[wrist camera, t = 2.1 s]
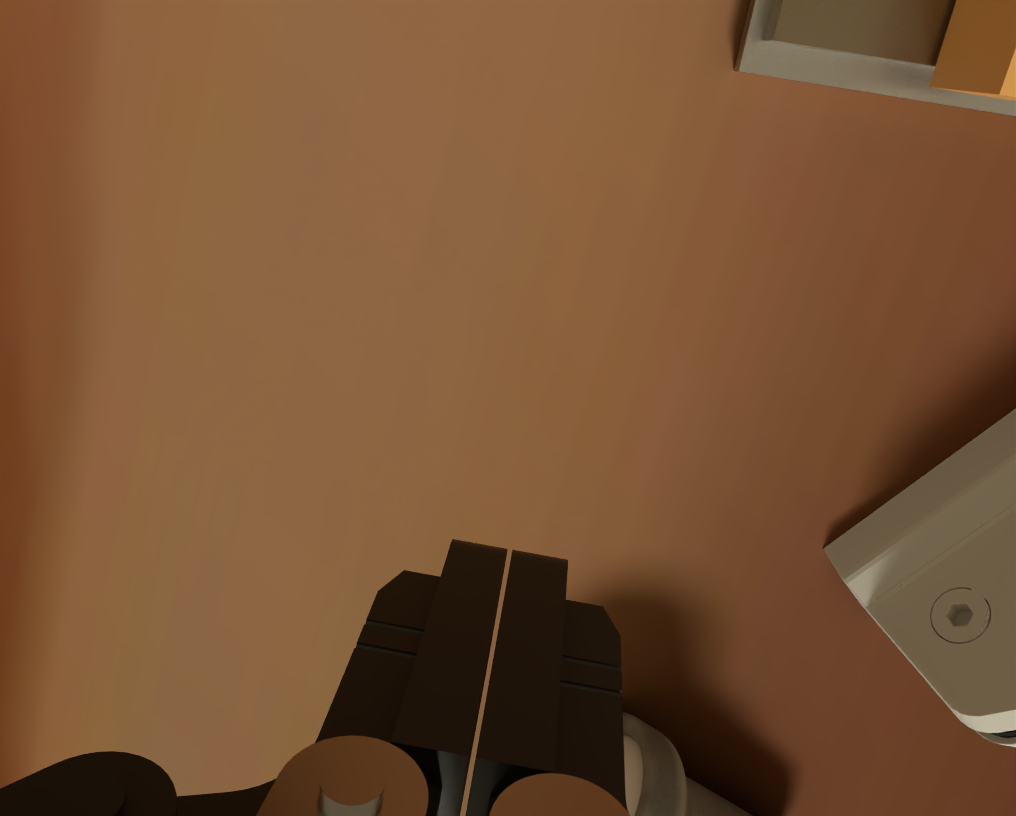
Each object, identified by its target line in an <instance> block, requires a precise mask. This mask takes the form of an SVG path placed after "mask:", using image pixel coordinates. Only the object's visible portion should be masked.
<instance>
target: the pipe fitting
mask: <svg viewBox="0 0 1016 816" xmlns="http://www.w3.org/2000/svg"><path fill="white" fill-rule="evenodd" d="M623 734H624V764H625V793H626V803H627V809H628V812H629V815H630V816H753V815H751V814H750V813H748V812H746V811H744V810H743V809H741V808H739V807H737V806H736V805H734V804H732V803H731V802H729V801H727V800H726V799H724V798H722V797H720V796H719V795H717V794H715V793H714V792H712V791H710V790H708V789H707V788H705V787H703V786H702V785H700V784H698V783H696V782H695V781H693V780H691V779H690V778H688V777H686V776H685V772H684V768H683V764H682V761H681V759H680V756H679V754H678V752H677V750H676V749H675V747H674V746H673V744H672V743H671V742H670V741H669V739H668V738H667V737H665V736H664V735H663V734H662V733H660V732H659V731H657V730H656V729H654V728H653V727H651V726H650V725H648V724H647V723H645V722H643V721H642V720H640V719H639V718H637V717H635V716H633V715H631V714H629V713H626V712H623Z"/></svg>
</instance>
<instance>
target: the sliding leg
mask: <svg viewBox="0 0 1016 816" xmlns="http://www.w3.org/2000/svg"><path fill="white" fill-rule="evenodd" d="M929 87H932V88H938V89H944V90H950V91H956V92H963V93H969V94H975V95H981V96H987V97H994V98H1000V99H1006V100H1013V101H1016V0H956V3H955V6H954V10H953V13H952V16H951V19H950V22H949V25H948V28H947V31H946V35H945V38H944V41H943V44H942V47H941V50H940V53H939V56H938V60H937V63H936V66H935V69H934V72H933V75H932V78H931V81H930V85H929Z"/></svg>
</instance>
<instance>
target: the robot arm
mask: <svg viewBox="0 0 1016 816" xmlns="http://www.w3.org/2000/svg"><path fill="white" fill-rule="evenodd" d="M506 555H507V549H504V548H499V547H493V546H488V545H482V544H477V543H471V542H466V541H460V540H455V539H453V540H452V542H451V545H450V548H449V551H448V554H447V558H446V561H445V564H444V567H443V571H442V574H441V577H438V576H433V575H427V574H422V573H417V572H411V571H406V570H404V571H403V572H401V573H400V574H399V575H398V576H396V577H395V578H394V579H393V580H391V581H390V582H389V583H388V584H386V585H385V586H384V587H383V588H381V589H380V590H379V591H378V593H377V595H376V597H375V600H374V602H373V605H372V607H371V610H370V612H369V614H368V617H367V620H366V624H364V627H363V629H362V631H361V634H360V636H359V639H358V641H357V645H356V648H354V651H353V653H352V656H351V658H350V660H349V663H348V665H347V668H346V670H345V673H344V675H343V677H342V680H341V682H340V685H339V687H338V690H337V692H336V694H335V697H334V699H333V702H332V704H331V707H330V709H329V711H328V714H327V716H326V719H325V721H324V723H323V726H322V728H321V731H320V733H319V736H318V738H317V740H316V742H315V743H314V744H312V745H310V746H308V747H306V748H305V749H303V750H301V751H300V752H299V753H297V754H296V755H295V756H293V757H292V758H291V759H290V760H289V761H288V762H287V763H286V765H285V766H284V767H283V769H282V770H281V772H280V773H279V775H278V777H277V778H276V779H274V780H272V781H270V782H267V783H265V784H262V785H260V786H256V787H253V788H249V789H245V790H239V791H232V792H224V793H212V794H201V795H189V796H178V797H177V795H176V791H175V787H174V784H173V782H172V781H171V779H170V777H169V776H168V774H167V773H166V772H165V771H164V770H163V769H162V768H161V767H160V766H158V765H157V764H155V763H154V762H152V761H151V760H148V759H146V758H144V757H141V756H139V755H134V754H130V753H125V752H114V751H111V752H95V753H89V754H83V755H79V756H76V757H72V758H68V759H66V760H63V761H61V762H58V763H56V764H53V765H51V766H49V767H47V768H44V769H42V770H40V771H38V772H36V773H34V774H31V775H29V776H27V777H25V778H23V779H20V780H18V781H16V782H14V783H12V784H9V785H7V786H5V787H3V788H1V789H0V816H460V812H461V806H462V801H463V795H464V790H465V784H466V779H467V774H468V768H469V763H470V757H471V752H472V746H473V741H474V736H475V730H476V725H477V719H478V714H479V708H480V703H481V698H482V692H483V687H484V681H485V676H486V670H487V664H488V659H489V653H490V647H491V642H492V636H493V630H494V624H495V619H496V613H497V607H498V601H499V596H500V590H501V584H502V578H503V573H504V567H505V561H506ZM567 569H568V560H566V559H560V558H555V557H549V556H544V555H538V554H533V553H527V552H522V551H516V550H512V556H511V562H510V567H509V573H508V579H507V584H506V590H505V596H504V601H503V607H502V613H501V618H500V624H499V630H498V635H497V641H496V647H495V652H494V658H493V663H492V669H491V675H490V680H489V686H488V692H487V697H486V703H485V709H484V714H483V720H482V726H481V731H480V737H479V743H478V748H477V754H476V760H475V765H474V771H473V777H472V782H471V788H470V794H469V799H468V805H467V811H466V816H630V815H629V812H628V809H627V803H626V793H625V764H624V734H623V704H622V698H621V694H622V675H621V672H620V670H621V645H620V634H619V633H618V631H617V629H616V628H615V626H614V624H613V623H612V621H611V619H610V618H609V616H608V614H607V613H606V611H605V609H604V608H603V606H597V605H592V604H586V603H581V602H575V601H570V600H566V585H567Z"/></svg>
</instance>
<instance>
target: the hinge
mask: <svg viewBox="0 0 1016 816" xmlns="http://www.w3.org/2000/svg"><path fill="white" fill-rule="evenodd" d="M823 550H824V551H825V553H826V554H827V556H828V558H829V559H830V561H831V563H832V564H833V566H834V567H835V569H836V571H837V572H838V574H839V575H840V577H841V578H842V580H843V581H844V582H845V584H846V585H847V586H848V588H849V589H850V590H851V592H852V593H853V595H854V596H855V597H856V599H857V600H858V601H859V603H860V604H861V605H862V606H863V607H864V609H865V610H866V611H867V612H868V613H869V614H870V616H871V617H872V618H873V619H874V620H875V621H876V623H877V624H878V625H879V626H880V627H881V629H882V630H883V631H884V632H885V633H886V634H887V636H888V637H889V638H890V639H891V640H892V641H893V643H894V644H895V645H896V646H897V647H898V648H899V650H900V651H901V652H902V653H903V654H904V655H905V657H906V658H907V659H908V660H909V661H910V662H911V664H912V665H913V666H914V667H915V668H916V669H917V671H918V672H919V673H920V674H921V675H922V676H923V678H924V679H925V680H926V681H927V682H928V684H929V685H930V686H931V687H932V688H933V689H934V691H935V692H936V693H937V694H938V695H939V696H940V698H941V699H942V700H943V701H944V702H945V703H946V705H947V706H948V707H949V708H950V709H951V710H952V712H953V713H954V714H955V715H956V716H957V717H958V719H959V720H960V721H961V722H963V723H964V724H965V725H967V726H968V727H970V728H972V729H974V730H975V731H976V732H977V733H978V734H979V735H981V736H982V737H984V738H985V739H987V740H989V741H991V742H994V743H997V744H1001V745H1006V746H1012V747H1016V408H1015V409H1014V410H1013V411H1011V412H1010V413H1009V414H1007V415H1006V416H1004V417H1003V418H1002V419H1000V420H999V421H998V422H996V423H995V424H993V425H992V426H991V427H989V428H988V429H987V430H985V431H984V432H983V433H981V434H980V435H978V436H977V437H976V438H974V439H973V440H972V441H970V442H969V443H967V444H966V445H965V446H963V447H962V448H961V449H959V450H958V451H956V452H955V453H954V454H952V455H951V456H950V457H948V458H947V459H945V460H944V461H943V462H941V463H940V464H939V465H937V466H936V467H935V468H933V469H932V470H930V471H929V472H928V473H926V474H925V475H924V476H922V477H921V478H919V479H918V480H917V481H915V482H914V483H913V484H911V485H910V486H908V487H907V488H906V489H904V490H903V491H902V492H900V493H899V494H897V495H896V496H895V497H893V498H892V499H891V500H889V501H888V502H887V503H885V504H884V505H882V506H881V507H880V508H878V509H877V510H876V511H874V512H873V513H871V514H870V515H869V516H867V517H866V518H865V519H863V520H862V521H860V522H859V523H858V524H856V525H855V526H854V527H852V528H851V529H849V530H848V531H847V532H845V533H844V534H843V535H841V536H840V537H839V538H837V539H836V540H834V541H833V542H832V543H830V544H829V545H828V546H826V547H825V548H823Z"/></svg>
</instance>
